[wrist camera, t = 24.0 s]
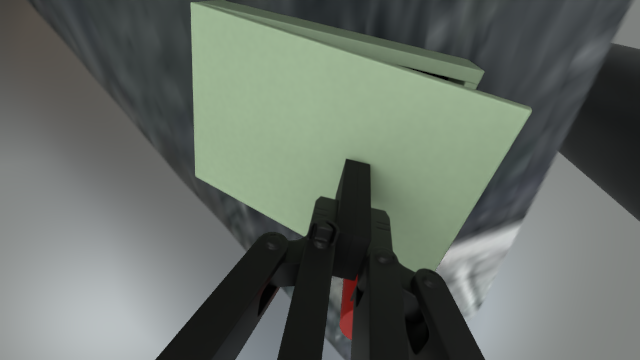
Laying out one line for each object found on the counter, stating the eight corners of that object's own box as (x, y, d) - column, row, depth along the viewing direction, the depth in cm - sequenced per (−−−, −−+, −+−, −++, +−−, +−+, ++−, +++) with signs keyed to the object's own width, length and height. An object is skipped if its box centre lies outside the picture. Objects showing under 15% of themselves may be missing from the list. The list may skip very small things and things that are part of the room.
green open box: (465, 57, 25) (484, 71, 20) (405, 193, 32) (410, 223, 28) (226, -1, 25) (198, 1, 21) (222, 148, 32) (200, 172, 28)
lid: (531, 106, 14) (532, 111, 14) (420, 291, 22) (417, 299, 21) (199, 2, 21) (190, 1, 20) (201, 172, 28) (194, 176, 27)
